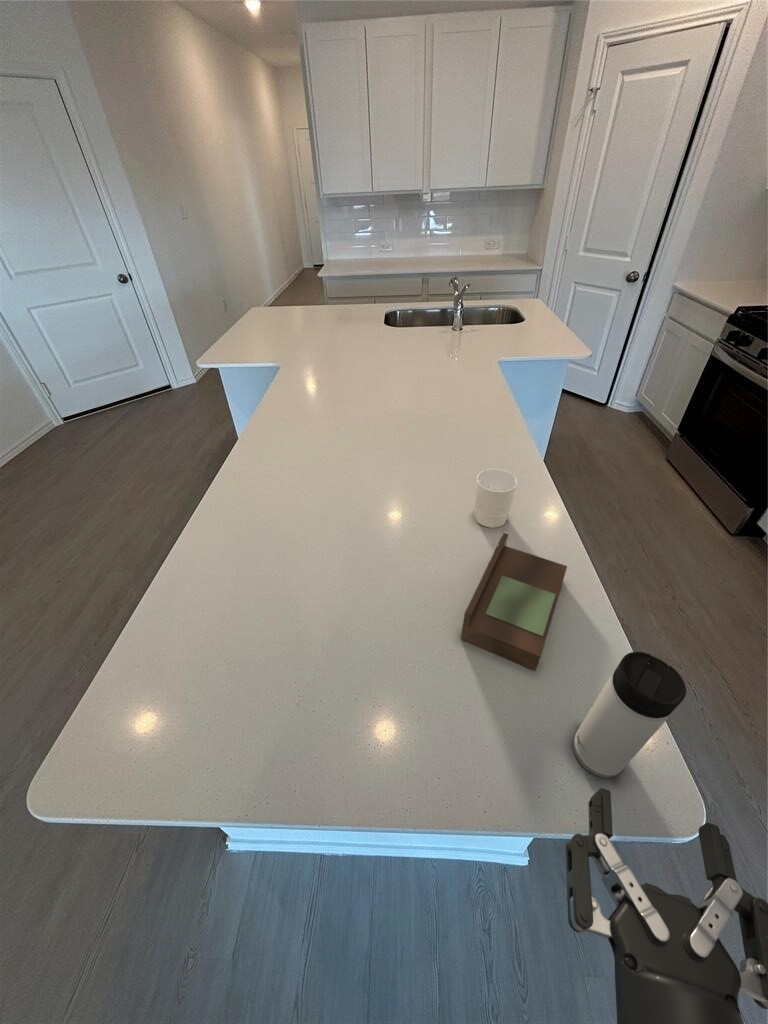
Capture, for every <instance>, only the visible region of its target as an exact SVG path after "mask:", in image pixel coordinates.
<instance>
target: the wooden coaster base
mask: <svg viewBox="0 0 768 1024" xmlns="http://www.w3.org/2000/svg"><path fill="white" fill-rule="evenodd" d="M508 540H509V534H508V533H505V532H502V534H501V536H500V539H499V540H498V542H497V544H496V547H495V548H494V551H493V553H492V555H491V558H490V560H489V561H488V563H487V566H486V568H485V570H484V572H483V574H482V576H481V578H480V580H479V582H478V584H477V586H476V588H475V590H474V593H473V595H472V597H471V599H470V601H469V602H468V605H467V607H466V609H465V611H464V615H463V620H462V621H463V622H462V628H461V635H460V640H461V641H464V642H466V643H468V644H470V645H473V646H476V647H478V648H480V649H483V650H484V651H487V652H490V653H492V654H494V655H497V656H499V657H502V658H504V659H506V660H508V661H511V662H513V663H516V664H518V665H520V666H523V667H525V668H527V669H530V670H533V671H536V669H537V667H538V664H539V662H540V659H541V656H542V653H543V650H544V646H545V643H546V639H547V637H548V633H549V630H550V626H551V623H552V619H553V616H554V613H555V609H556V606H557V602H558V600H559V595H560V593H561V589H562V585H563V583H564V579H565V576H566V572H567V569H568V565H565V564H562V563H560V562H557V561H553V560H550V559H546V558H544V557H541V556H538V555H535V554H532V553H529V552H525V551H522V550H519V549H516V548H513V547H510V546H507V543H508Z"/></svg>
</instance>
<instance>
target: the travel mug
mask: <svg viewBox="0 0 768 1024" xmlns="http://www.w3.org/2000/svg"><path fill="white" fill-rule="evenodd" d="M686 695H687V687H686V683H685V681H684V679H683V677H682V676H681V674H680V673H679V672H678V671H677V670H676V668H674V667H673V666H672V665H668V664H667V663H666V662H665V661H664V660H662V659H661V658H658V657H656V656H654V655H652V654H650V653H647V652H644V651H632V652H629V653H627V654H625V655H624V656H623V657H622V658H621V660H620V661H619V663H618V665H617V667H616V668H615V669H614V671H613V672H612V673H611V675H610V677H609V679H608V681H606V683H605V685H604V687H603V688H602V690H601V692H600V693H599V695H598V696H597V698H596V700H595V701H594V703H593V705H592V706H591V708H590V710H589V711H588V713H587V715H586V716H585V718H584V719H583V721H582V722H581V724H580V726H579V728H578V729H577V731H576V732H575V734H574V736H573V739H572V749H573V753H574V756H575V758H576V759H577V761H578V762H579V764H580V765H581V766H582V767H583V768H584V769H585V770H586V771H587V772H588V773H590V774H591V775H594V776H596V777H599V778H603V779H611V778H614V777H616V776H618V775H619V774H621V773H622V771H623V770H624V768H626V767H627V765H628V764H629V763H630V762H631V761H632V760H633V759H634V757H635V756H636V755H637V754H638V753H639V752H640V751H641V750H642V749H643V747H644V746H645V745H646V744H647V743H648V741H650V740H651V738H652V737H653V736H654V735H655V734H656V733H657V731H658V730H659V729H660V728H661V727H662V726H663V725H664V723H665V722H666V721H668V719H669V718H670V716H672V715H673V713H674V711H675V710H676V709H677V708H678V706H679V705H681V703H682V702H683V701H684V700H685V698H686Z"/></svg>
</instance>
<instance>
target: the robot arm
mask: <svg viewBox="0 0 768 1024" xmlns="http://www.w3.org/2000/svg"><path fill="white" fill-rule="evenodd" d="M611 795H612V794H611V790H609V789H607V788H605V787H600V788H599V789H598V790H597V791H596V792H594V794H592V795H591V797H590V798H589V801H588V834H581V833H575V834H574V835H572V837H571V839H569V840H567V842H566V844H565V846H564V849H565V872H566V873H565V874H566V897H567V920H568V925H569V927H570V928H571V930H572V931H574V932H575V933H583V932H588V933H589V934H593V935H597V936H600V937H603V938H606V939H607V940H608V943H609V944H610V947H611V951H612V953H613V960H614V987H615V988H614V989H615V1005H616V1006H615V1008H616V1024H745V1023H744V1019H743V1016H742V1013H741V1010H740V1007H739V993H741V994H743V995H746V996H748V997H750V998H752V999H753V1001H754V1003H755V1004H756V1005H757V1006H758V1007H759V1008H761V1009H763V1010H768V902H767V900H765V899H763V898H760V897H755V896H754V895H753V894H751V893H749V891H746V890H745V889H744V888H743V887H742V886H741V885H740V883H739V881H738V879H737V875H736V871H735V866H734V861H733V857H732V853H731V848H730V842H729V841H728V840H727V837H726V836H725V835H724V834H721V830H720V826H718V825H716V824H713V823H711V822H705V823H704V824H702V825H701V826H699V828H698V839H699V844H700V850H701V855H702V860H703V866H704V872H705V877H706V880H707V881H710V882H711V884H712V885H711V886H710V887H709V888H708V890H707V891H706V893H705V894H704V896H703V897H702V899H701V900H700V901H699V902H698V903H697V904H696V905H695V904H694V903H693V902H692V899H691V898H689V897H686V896H683V895H681V894H673V893H667V892H666V891H665V890H663V889H662V888H660V887H659V886H657V885H654V884H651V883H648V882H645V883H643V884H640V883H639V881H638V880H637V877H636V876H635V874H634V873H633V871H632V870H631V868H630V867H629V865H628V864H626V863H625V862H624V861H623V860H622V858H621V857H620V855H619V853H618V851H617V850H616V848H615V847H614V845H613V842H612V841H611V840H610V839H611V838H612V837H614V834H613V833H614V832H613V811H612V796H611ZM590 858H591V859H592V860H593V863H594V864H595V866H596V868H597V870H598V871H599V873H600V875H601V880H602V882H603V885H604V886H605V888H606V890H607V892H608V894H609V896H610V897H611V899H612V901H613V902H614V904H615V906H616V908H615V909H614V910H613V912H612V913H611V914H610V916H609V917H608V918H606V917H605V916H604V914H603V911H602V909H601V905H600V903H599V901H598V900H597V899H596V898H595V896H593V895H592V884H591V883H592V882H591V870H590V867H591V866H590ZM733 912H736V913H737V914H738V921H739V926H740V927H739V928H740V933H741V938H742V944H743V946H742V947H743V952H744V957H745V958H744V959H742V960H740V963H739V968H738V966H737V965H736V963H735V961H734V960H733V958H732V956H731V955H730V954H729V952H728V951H727V949H726V947H725V946H724V944H723V943H722V942H721V940H720V938H719V937H720V936H721V934H722V932H723V931H724V930H725V928H726V926H727V925H728V923H729V922H730V921H731V918H732V917H733Z"/></svg>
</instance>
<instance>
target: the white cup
mask: <svg viewBox="0 0 768 1024" xmlns="http://www.w3.org/2000/svg"><path fill="white" fill-rule="evenodd" d="M517 486H518V479H517V477H516V476H515V474H514V473H512V472H509V471H507V470H506V469H501V468H487V469H484V470H482V471H480V472H479V473H478V474H477V476H476V483H475V494H474V495H475V497H474V519H475V522H477V523H478V524H479V525H481V526H483V527H486V528H489V529H493V528H500V527H502V526H504V525H505V523H506V522H507V521H508V517H509V513H510V511H511V507H512V504H513V501H514V497H515V493H516V490H517Z"/></svg>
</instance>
